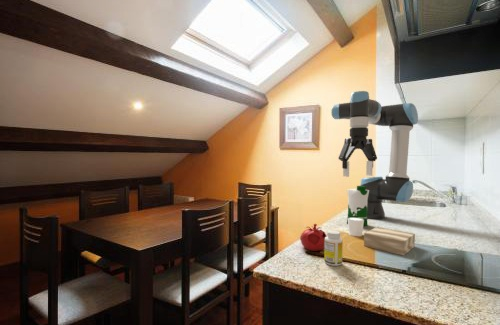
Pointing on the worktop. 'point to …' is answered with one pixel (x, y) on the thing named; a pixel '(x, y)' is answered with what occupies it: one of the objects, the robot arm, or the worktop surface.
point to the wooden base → (389, 240)
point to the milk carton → (358, 203)
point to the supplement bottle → (333, 248)
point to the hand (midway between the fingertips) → (357, 176)
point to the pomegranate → (313, 239)
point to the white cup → (355, 226)
